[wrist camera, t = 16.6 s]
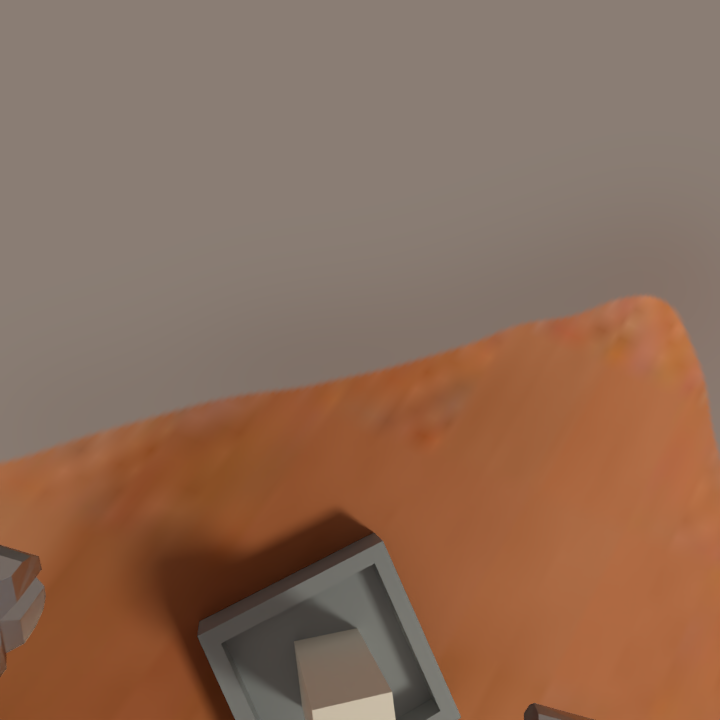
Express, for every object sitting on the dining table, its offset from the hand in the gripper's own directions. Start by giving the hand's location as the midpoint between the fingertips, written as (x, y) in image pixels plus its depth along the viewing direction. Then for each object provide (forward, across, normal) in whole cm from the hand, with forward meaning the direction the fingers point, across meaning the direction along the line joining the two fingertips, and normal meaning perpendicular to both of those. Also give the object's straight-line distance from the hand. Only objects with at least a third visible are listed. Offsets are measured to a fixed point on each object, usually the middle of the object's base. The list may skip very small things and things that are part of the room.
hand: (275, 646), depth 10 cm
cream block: (+17, -1, +28) cm, 33 cm away
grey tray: (+18, -1, +29) cm, 34 cm away
